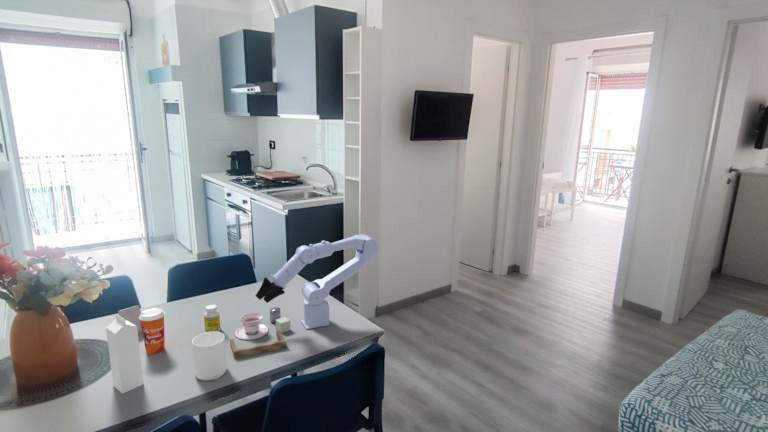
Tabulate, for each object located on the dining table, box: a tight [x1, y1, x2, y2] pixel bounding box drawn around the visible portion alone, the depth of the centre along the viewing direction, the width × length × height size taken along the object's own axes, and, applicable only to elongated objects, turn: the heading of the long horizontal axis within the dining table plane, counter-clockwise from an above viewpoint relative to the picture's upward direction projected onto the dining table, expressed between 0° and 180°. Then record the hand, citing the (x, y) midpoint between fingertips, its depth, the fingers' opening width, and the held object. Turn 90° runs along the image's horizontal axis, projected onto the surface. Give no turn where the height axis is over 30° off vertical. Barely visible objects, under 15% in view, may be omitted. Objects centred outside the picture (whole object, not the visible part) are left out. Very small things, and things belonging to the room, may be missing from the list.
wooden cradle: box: [229, 329, 287, 359], centre depth 151 cm, size 17×9×2 cm, turn 117°
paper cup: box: [139, 307, 166, 355], centre depth 146 cm, size 8×8×14 cm
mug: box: [191, 331, 228, 382], centre depth 135 cm, size 10×12×12 cm
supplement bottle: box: [203, 304, 221, 332], centre depth 161 cm, size 5×5×10 cm
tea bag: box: [117, 304, 143, 334], centre depth 158 cm, size 4×7×10 cm, turn 140°
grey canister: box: [269, 307, 282, 325], centre depth 170 cm, size 4×4×5 cm
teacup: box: [234, 312, 269, 341], centre depth 161 cm, size 12×12×6 cm
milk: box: [105, 313, 144, 395], centre depth 126 cm, size 6×6×22 cm
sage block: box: [275, 316, 291, 334], centre depth 164 cm, size 4×4×4 cm
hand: (261, 299), depth 158 cm, fingers open, 7 cm apart
